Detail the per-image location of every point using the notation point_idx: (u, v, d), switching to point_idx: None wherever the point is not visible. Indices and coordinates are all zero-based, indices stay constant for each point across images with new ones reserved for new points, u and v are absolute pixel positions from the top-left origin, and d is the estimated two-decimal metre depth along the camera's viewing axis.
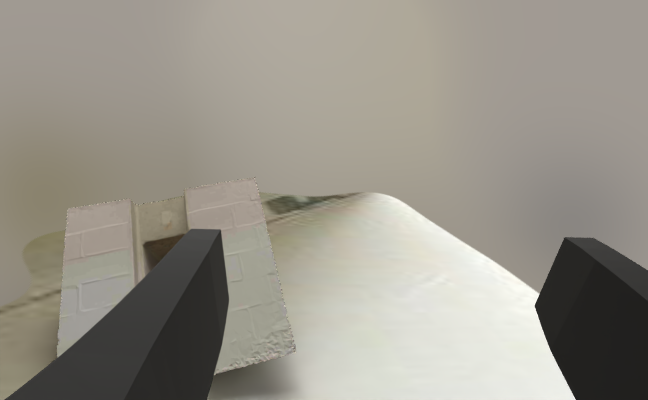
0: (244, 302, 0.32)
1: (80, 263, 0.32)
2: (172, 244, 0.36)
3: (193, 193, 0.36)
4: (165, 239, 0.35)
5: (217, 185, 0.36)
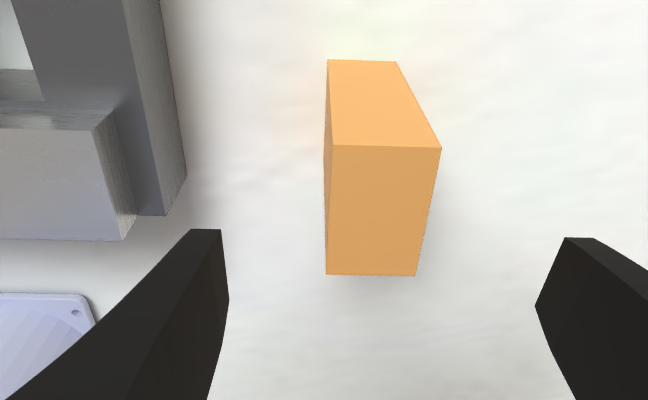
0: None
1: None
2: None
3: None
4: None
5: None
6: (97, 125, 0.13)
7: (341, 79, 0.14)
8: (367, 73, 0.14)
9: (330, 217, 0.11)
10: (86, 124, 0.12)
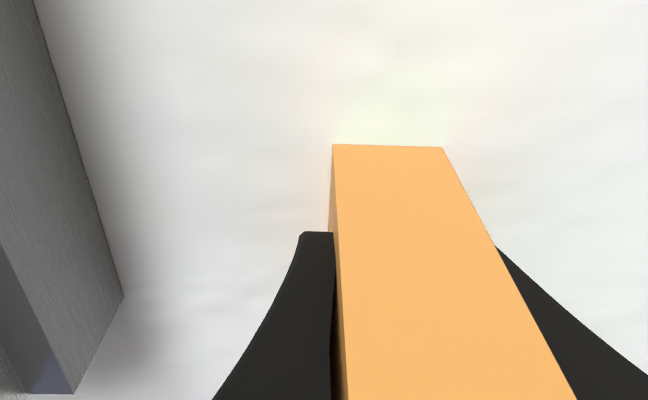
0: None
1: None
2: None
3: None
4: None
5: None
6: None
7: (358, 201, 0.08)
8: (401, 180, 0.09)
9: None
10: None
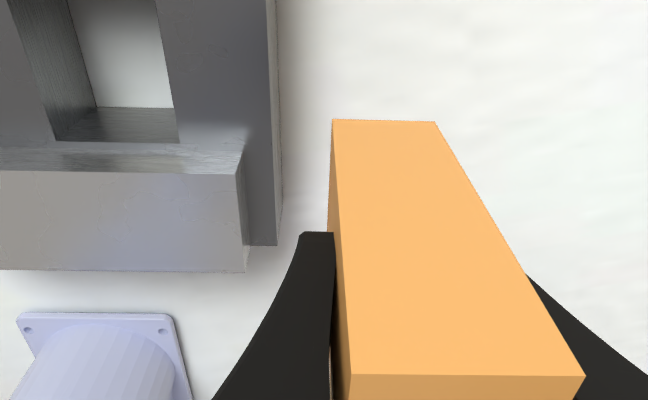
0: None
1: None
2: None
3: None
4: None
5: None
6: (237, 168, 0.13)
7: (355, 164, 0.08)
8: (395, 147, 0.09)
9: None
10: (227, 167, 0.13)
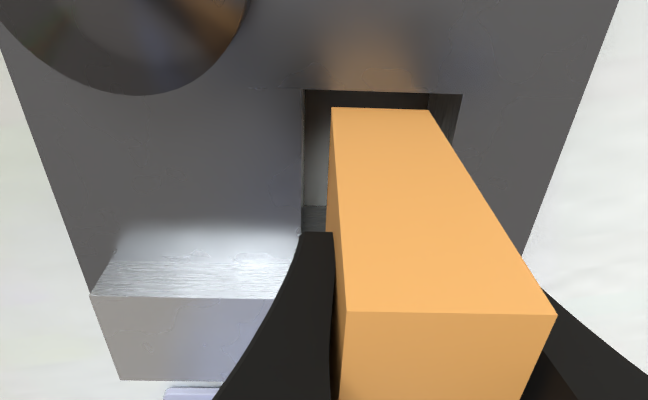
0: None
1: None
2: None
3: None
4: None
5: None
6: None
7: (353, 145, 0.09)
8: (391, 131, 0.10)
9: None
10: None
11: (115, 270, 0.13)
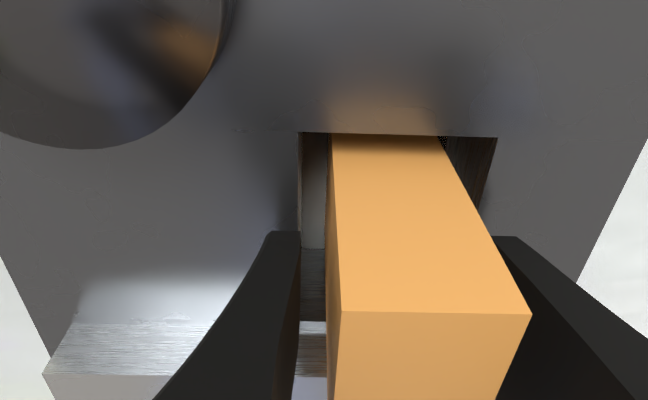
0: None
1: None
2: None
3: None
4: None
5: None
6: None
7: (350, 148, 0.09)
8: (386, 134, 0.10)
9: None
10: None
11: (77, 337, 0.11)
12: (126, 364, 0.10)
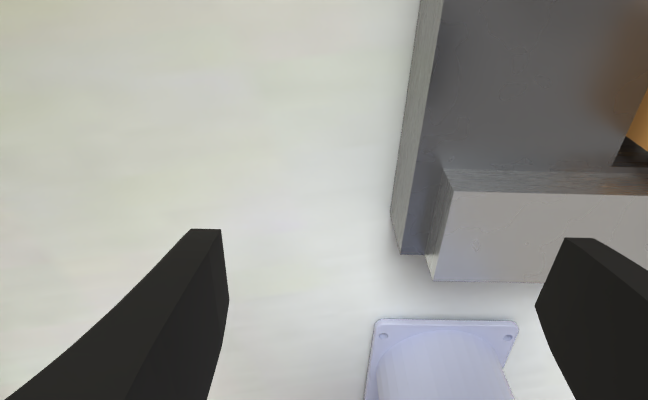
0: None
1: None
2: None
3: None
4: None
5: None
6: None
7: None
8: None
9: None
10: None
11: (455, 175, 0.15)
12: (507, 188, 0.14)
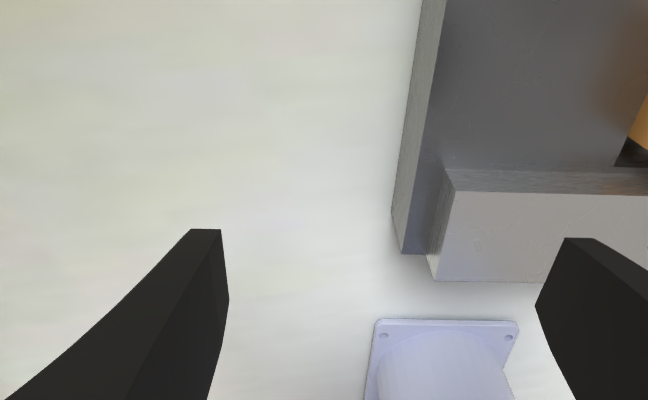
0: None
1: None
2: None
3: None
4: None
5: None
6: None
7: None
8: None
9: None
10: None
11: (456, 175, 0.15)
12: (509, 188, 0.14)
